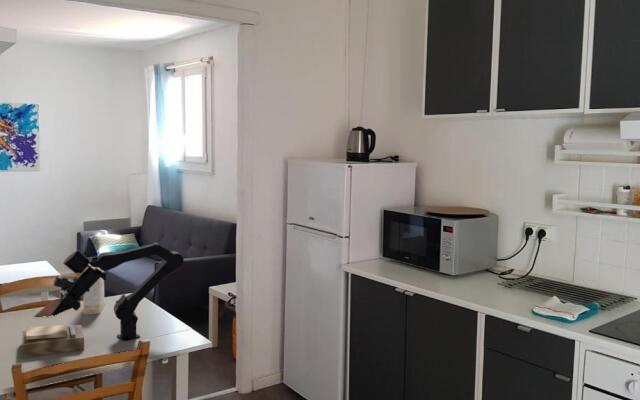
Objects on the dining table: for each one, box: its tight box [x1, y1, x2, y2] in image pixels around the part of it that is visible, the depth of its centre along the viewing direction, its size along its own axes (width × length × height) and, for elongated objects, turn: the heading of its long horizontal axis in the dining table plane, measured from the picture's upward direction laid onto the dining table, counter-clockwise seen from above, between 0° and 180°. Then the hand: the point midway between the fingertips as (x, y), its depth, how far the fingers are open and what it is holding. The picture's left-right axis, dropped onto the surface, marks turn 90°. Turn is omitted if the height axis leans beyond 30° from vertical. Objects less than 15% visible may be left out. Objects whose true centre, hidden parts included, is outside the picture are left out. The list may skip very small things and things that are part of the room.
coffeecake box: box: [82, 264, 105, 315], centre depth 247 cm, size 15×7×20 cm, turn 14°
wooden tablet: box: [34, 297, 60, 318], centre depth 248 cm, size 27×10×2 cm, turn 4°
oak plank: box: [25, 324, 67, 340], centre depth 201 cm, size 13×10×1 cm
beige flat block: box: [21, 323, 85, 359], centre depth 202 cm, size 20×15×6 cm
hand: (52, 314), depth 202 cm, fingers closed
